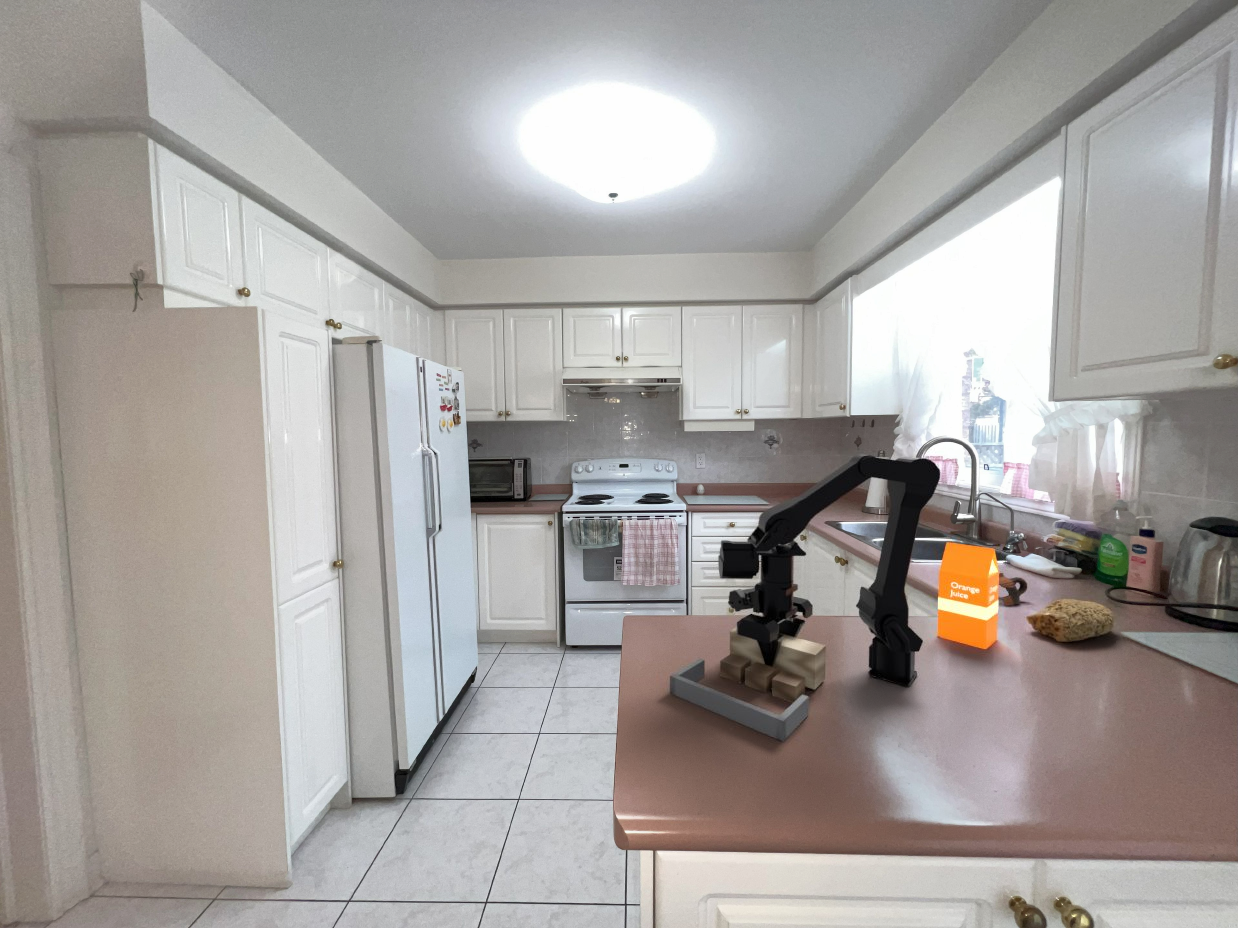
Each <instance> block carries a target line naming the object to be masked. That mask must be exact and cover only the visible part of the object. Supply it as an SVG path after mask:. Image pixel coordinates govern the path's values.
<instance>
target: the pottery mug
mask: <svg viewBox="0 0 1238 928" xmlns="http://www.w3.org/2000/svg"><path fill="white" fill-rule="evenodd" d="M1017 584H1018V585H1019V588H1017ZM999 587H1001V588H1003V589H1005V590H1006V592H1007V594H1008V595H1005V596H1002V597H1001V600H1002V601H1003V604H1004V607H1007V606H1008V607H1009V606H1013V605H1019V604H1021V599H1020V596H1022V595H1023V594H1024V593H1026V592H1027V590H1028V582H1026V579H1024V578H1022V577H1019V576H1018V577H1017V576H1016V577H1011V578H1008V577H1006V576H1005V575H1004V573H1003V572H999Z"/></svg>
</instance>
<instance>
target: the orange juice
mask: <svg viewBox="0 0 1238 928" xmlns="http://www.w3.org/2000/svg"><path fill="white" fill-rule="evenodd" d="M999 573H1000V571H999V565H998V561H997V555H996V549H995V548H993V547H991V548H990V547H982V546H977V545H968V544H962V543H954V542H948V541H947V542H946V544H945V547H944V551H943V556H942V560H941V564H940V567H939V569H938V597H937V637H938V636H940V637H939V638H942V639H946V640H949V641H953V642H957V643H961V644H964V645H969V646H970V647H971V646H972V647H974V648H975V647H976V648H980V649H982V650H986V649H988V648H989V647H990V646H992V645H993V644H994V643H995V642H996V641H997V639H998V617H999V616H998V615H999V614H998V613H999V587H1000V585H999Z"/></svg>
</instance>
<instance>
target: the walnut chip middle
mask: <svg viewBox="0 0 1238 928" xmlns="http://www.w3.org/2000/svg"><path fill="white" fill-rule="evenodd" d="M776 675H777V668H774V667H771V666H768V665H765V664H762V663H759V662H755V663H754V664H752V665H750V666H749V667H747V668H746V669H745V680H744V686H747V687H749V688H751V689H753V690H756V691H760V692H762V693H765V694H767V693H768V692H769V691H770V690H771V691H772V679H773V678H774V677H775V676H776Z"/></svg>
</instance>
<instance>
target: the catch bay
mask: <svg viewBox="0 0 1238 928" xmlns="http://www.w3.org/2000/svg"><path fill="white" fill-rule="evenodd" d="M705 665H706V663H705V659H703V658H698V659H695V661H693V662H691V663H690V664H687V665H686V666H685V667H683V668H681V669H679V670H678V671H676V672H674V673H672V674H671V675H669V694H671V695H673V696H676V697H678V698H681V699H683V700H685V701H687V702H690V703H692V704H694V705H697V706H699V707H702V708H704V709H706V710H708V711H711V712H714V713H715V714H718V715H720V716H722V717H725V718H726V719H729V720H732V721H733V722H736V723H740V724H741V725H743V726H746V727H748V728H751V729H752V730H755V731H757V732H759V733H762V734H764V735H766V734H767V736H768V737H772V738H773V737H774V738H773V739H776V740H778V739H779V741H780V740H781V741H780V742H785V740H786V739H788V737H790V735H791V734H792V733H793V732H794V731H795V730H796V729H797V728H798V727H799V726H800V725H801V724H802V723H803V722H804V721H805V720H806V719H807V718H808V717H809V716H808V715H809V710H810V708H809V707H810V706H809V705H810V703H809V702H810V697H809V695H803V694H802V695H801V696H800V697H799V698H798V699H797V700H796V701H795V702H794V703H791V705H790V706H788V707H787V708H786V709H785V710H784V711H783V712H782V713H781V714H780V715H779V714H777V713H774V712H772V711H769V710H766V709H765V708H764V709H763V708H762V707H758V706H756V705H754V704H751V703H749V702H746V701H744V700H741V699H739V698H736V697H733V696H731V695H729V694H727V693H724V692H721V691H718V690H717V689H713V688H712V687H708V686H705V685H702V684H701V683H697V682H698V681H699V680H701V679H702V678H704V677H705V673H706V671H705ZM807 716H808V717H807ZM806 717H807V718H806ZM805 718H806V719H805ZM804 719H805V720H804ZM803 720H804V721H803ZM802 721H803V722H802ZM801 722H802V723H801ZM800 723H801V724H800ZM797 726H798V727H797ZM795 728H796V729H795Z"/></svg>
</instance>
